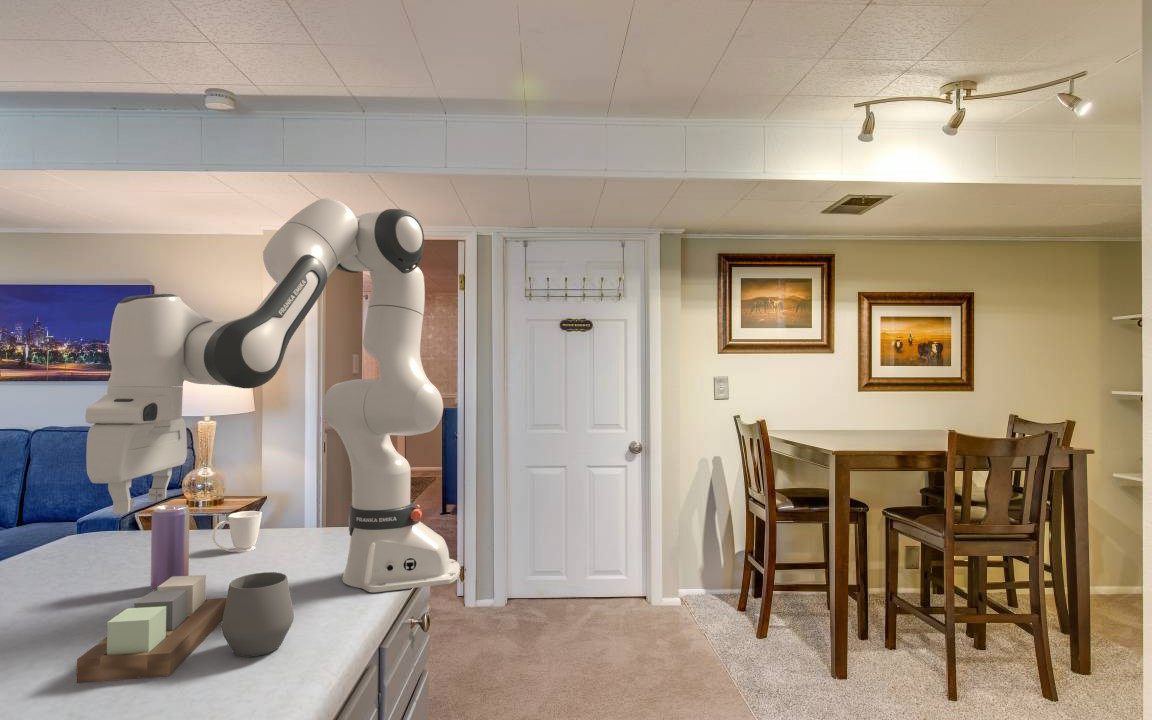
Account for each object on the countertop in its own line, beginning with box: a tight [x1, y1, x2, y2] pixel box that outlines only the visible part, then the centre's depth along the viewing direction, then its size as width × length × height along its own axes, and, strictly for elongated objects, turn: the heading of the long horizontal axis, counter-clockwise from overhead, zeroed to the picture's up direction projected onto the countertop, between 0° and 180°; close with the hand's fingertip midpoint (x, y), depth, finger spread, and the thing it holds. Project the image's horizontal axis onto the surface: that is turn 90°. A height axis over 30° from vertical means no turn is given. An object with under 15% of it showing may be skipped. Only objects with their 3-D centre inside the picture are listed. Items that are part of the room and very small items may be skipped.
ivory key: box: [157, 574, 207, 613], centre depth 101 cm, size 5×5×4 cm
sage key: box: [106, 606, 166, 655], centre depth 87 cm, size 5×5×4 cm
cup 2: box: [220, 571, 295, 658], centre depth 93 cm, size 10×9×10 cm
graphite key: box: [133, 590, 187, 632], centre depth 94 cm, size 5×5×4 cm
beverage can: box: [150, 503, 191, 591], centre depth 119 cm, size 6×6×15 cm
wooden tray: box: [76, 597, 227, 683], centre depth 94 cm, size 11×21×3 cm, turn 10°
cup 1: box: [212, 510, 263, 553], centre depth 143 cm, size 7×10×8 cm
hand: (141, 506), depth 89 cm, fingers open, 8 cm apart
